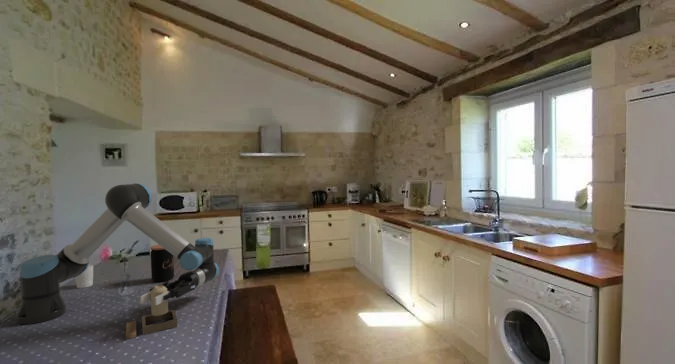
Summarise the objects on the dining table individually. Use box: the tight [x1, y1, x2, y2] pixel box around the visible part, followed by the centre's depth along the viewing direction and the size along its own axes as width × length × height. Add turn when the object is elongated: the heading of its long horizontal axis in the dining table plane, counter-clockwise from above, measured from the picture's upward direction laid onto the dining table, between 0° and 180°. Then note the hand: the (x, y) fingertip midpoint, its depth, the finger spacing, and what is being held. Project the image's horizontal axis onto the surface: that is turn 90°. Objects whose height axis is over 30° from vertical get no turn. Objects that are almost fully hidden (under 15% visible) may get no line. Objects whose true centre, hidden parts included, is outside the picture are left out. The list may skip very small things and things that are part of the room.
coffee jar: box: [150, 244, 175, 283], centre depth 182 cm, size 11×11×18 cm
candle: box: [149, 284, 169, 316], centre depth 127 cm, size 6×6×10 cm
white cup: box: [74, 264, 94, 289], centre depth 175 cm, size 8×8×10 cm
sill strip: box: [125, 320, 137, 340], centre depth 123 cm, size 3×12×1 cm, turn 31°
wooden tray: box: [141, 309, 178, 335], centre depth 127 cm, size 11×11×2 cm
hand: (148, 300), depth 122 cm, fingers closed on candle, 5 cm apart
